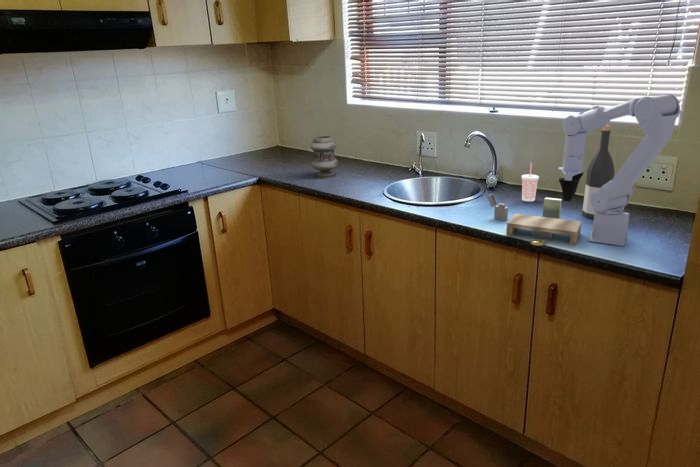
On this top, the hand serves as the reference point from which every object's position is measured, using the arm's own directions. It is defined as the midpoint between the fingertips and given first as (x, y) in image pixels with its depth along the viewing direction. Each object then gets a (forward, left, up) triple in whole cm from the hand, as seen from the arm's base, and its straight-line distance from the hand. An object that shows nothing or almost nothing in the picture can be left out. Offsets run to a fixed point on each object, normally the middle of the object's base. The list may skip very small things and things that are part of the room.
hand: (569, 197), depth 166 cm
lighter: (+22, +1, -10) cm, 24 cm away
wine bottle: (-7, -14, -10) cm, 18 cm away
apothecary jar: (+109, -28, -10) cm, 113 cm away
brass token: (+5, +19, -10) cm, 22 cm away
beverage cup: (+17, -24, -10) cm, 31 cm away
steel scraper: (+5, +5, -9) cm, 12 cm away
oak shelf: (+5, +11, -9) cm, 15 cm away
